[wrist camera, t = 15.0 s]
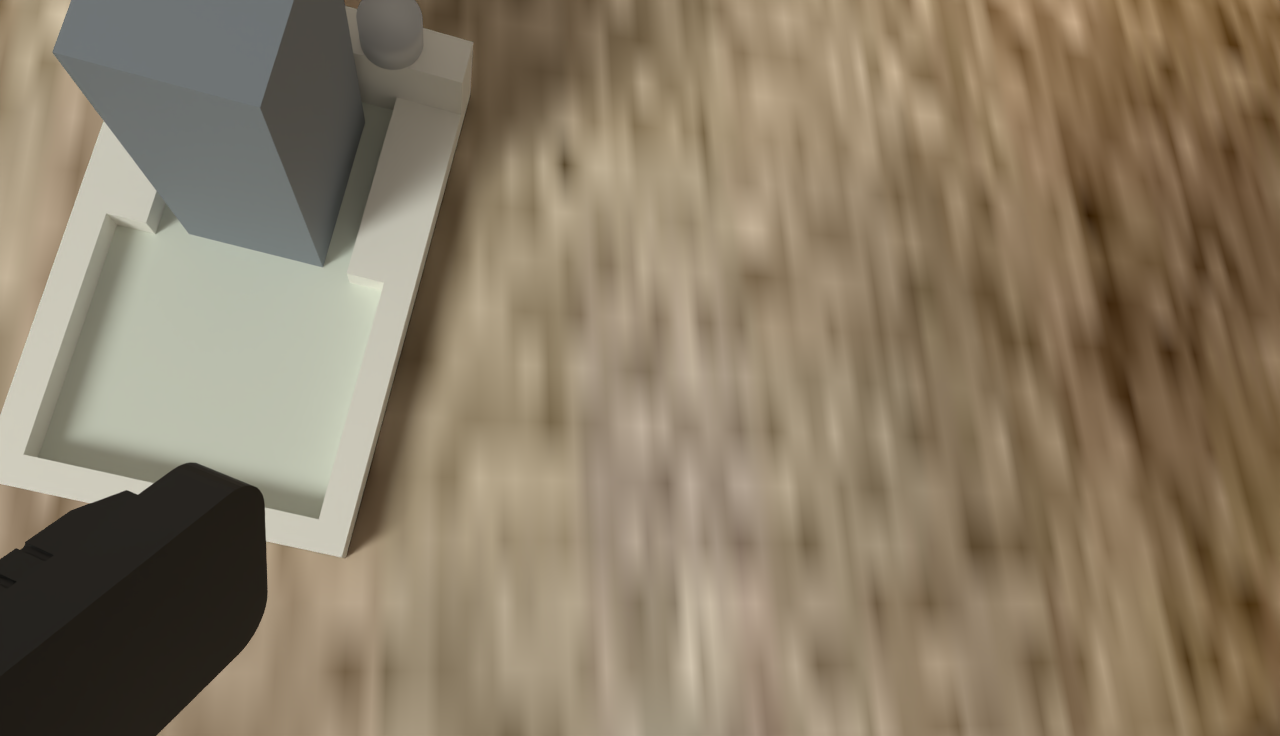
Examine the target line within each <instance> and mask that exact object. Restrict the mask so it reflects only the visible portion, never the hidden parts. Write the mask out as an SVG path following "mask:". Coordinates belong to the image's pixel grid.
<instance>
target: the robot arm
mask: <svg viewBox="0 0 1280 736" xmlns="http://www.w3.org/2000/svg"><path fill="white" fill-rule="evenodd" d="M266 602H267V561H266V529H265V503H264V498H263V494H262V493H261V491H260V490H259V489H258V488H257V487H255V486H252V485H250V484H247V483H245V482H242V481H240V480H238V479H235V478H233V477H230V476H228V475H225V474H223V473H220V472H218V471H215V470H213V469H210V468H208V467H206V466H203V465H201V464H198V463H193V462H190V463H185V464H182V465H180V466H178V467H176V468H175V469H173V470H171V471H170V472H169V473H167V474H166V475H164V476H163V477H162V478H160V479H159V480H158V481H156V482H155V483H153V484H152V485H151V486H149V487H148V488H146V489H145V490H144V491H142V492H141V493H140V494H138V495H137V494H135V493H133V492H130V491H128V490H125V491H123V492H120V493H117V494H115V495H112V496H109V497H106V498H104V499H101V500H98V501H96V502H93V503H90V504H87V505H85V506H82V507H79V508H77V509H74V510H71V511H70V512H68V513H67V514H65V515H64V516H62V517H61V518H59V519H58V520H57V521H55V522H54V523H52V524H51V525H49V526H48V527H46V528H45V529H44V530H42V531H41V532H39V533H38V534H36V535H35V536H33V537H32V538H30V539H29V540H28V541H26V542H25V546H24V547H23V548H22V549H21V550H19V549H17V548H16V549H15V550H13V551H12V552H10V553H9V554H7V555H6V556H4V557H3V558H1V559H0V736H156V735H157V734H158V733H159V732H160V731H161V730H162V729H163V728H164V727H165V726H166V725H167V724H168V723H169V722H170V721H171V720H172V719H173V718H175V717H176V716H177V715H178V714H179V713H180V712H181V711H182V710H183V709H184V708H185V707H186V706H187V705H188V704H189V703H190V702H191V701H192V700H193V699H194V698H195V697H196V696H197V695H198V694H199V693H200V692H201V691H202V690H203V689H204V688H205V687H206V686H207V685H208V684H209V683H210V682H211V681H212V680H213V679H214V678H215V677H216V676H217V675H218V674H219V673H220V672H221V671H222V670H223V669H224V668H225V667H226V666H227V665H228V664H229V663H230V662H231V661H232V660H233V659H234V658H235V657H236V656H237V655H238V654H239V653H240V652H241V651H242V650H243V649H244V648H245V646H246V645H247V644H248V642H249V641H250V639H251V638H252V636H253V635H254V633H255V631H256V629H257V628H258V626H259V623H260V621H261V619H262V616H263V613H264V610H265V607H266Z"/></svg>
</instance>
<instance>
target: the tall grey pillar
mask: <svg viewBox="0 0 1280 736" xmlns="http://www.w3.org/2000/svg"><path fill="white" fill-rule="evenodd" d="M53 54H54V55H55V56H56V58H57V59H58V60H59V62H60V63H61V64H62V66H63V67H64V68H65V70H66V71H67V72H68V74H69V75H70V76H71V78H72V79H73V80H74V82H75V83H76V84H77V86H78V87H79V88H80V90H81V91H82V92H83V94H84V95H85V96H86V98H87V99H88V100H89V102H90V103H91V104H92V106H93V107H94V108H95V110H96V111H97V112H98V114H99V115H100V116H101V118H102V119H103V120H104V122H105V123H106V124H107V126H108V127H109V128H110V130H111V131H112V132H113V134H114V135H115V136H116V138H117V139H118V140H119V142H120V143H121V144H122V146H123V147H124V148H125V150H126V151H127V152H128V154H129V155H130V156H131V158H132V159H133V160H134V162H135V163H136V164H137V166H138V167H139V168H140V170H141V171H142V172H143V174H144V175H145V176H146V178H147V179H148V180H149V182H150V183H151V184H152V186H153V187H154V188H155V190H156V191H157V192H158V194H159V195H160V196H161V198H162V199H163V200H164V201H165V203H166V204H167V205H168V207H169V208H170V209H171V211H172V212H173V213H174V215H175V216H176V217H177V219H178V220H179V221H180V223H181V224H182V225H183V227H184V228H185V229H186V231H187V232H188V233H189V234H191V235H195V236H199V237H203V238H207V239H211V240H215V241H219V242H223V243H227V244H231V245H235V246H239V247H243V248H247V249H251V250H255V251H259V252H263V253H267V254H271V255H275V256H279V257H283V258H287V259H291V260H295V261H299V262H303V263H307V264H311V265H315V266H319V267H323V266H324V262H325V259H326V255H327V252H328V249H329V245H330V242H331V238H332V235H333V231H334V228H335V224H336V221H337V218H338V214H339V211H340V207H341V204H342V200H343V197H344V193H345V190H346V187H347V183H348V180H349V176H350V173H351V169H352V166H353V162H354V159H355V155H356V152H357V149H358V145H359V142H360V138H361V135H362V131H363V128H364V124H365V118H364V112H363V107H362V101H361V95H360V89H359V83H358V78H357V72H356V66H355V60H354V55H353V49H352V43H351V37H350V32H349V26H348V20H347V14H346V9H345V3H344V0H71V3H70V6H69V8H68V11H67V14H66V17H65V19H64V22H63V25H62V27H61V30H60V33H59V36H58V38H57V41H56V44H55V46H54V49H53Z"/></svg>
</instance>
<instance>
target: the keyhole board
mask: <svg viewBox="0 0 1280 736" xmlns="http://www.w3.org/2000/svg"><path fill="white" fill-rule="evenodd" d="M345 9H346V14H347V20H348V26H349V32H350V37H351V43H352V49H353V55H354V60H355V66H356V72H357V78H358V83H359V89H360V95H361V101H362V107H363V112H364V118H365V124H364V128H363V131H362V135H361V138H360V142H359V145H358V149H357V152H356V155H355V159H354V162H353V166H352V169H351V173H350V176H349V180H348V183H347V187H346V190H345V193H344V197H343V200H342V204H341V207H340V211H339V214H338V218H337V221H336V224H335V228H334V231H333V235H332V238H331V242H330V245H329V249H328V252H327V255H326V259H325V262H324V266H323V267H319V266H315V265H311V264H307V263H303V262H299V261H295V260H291V259H287V258H283V257H279V256H275V255H271V254H267V253H263V252H259V251H255V250H251V249H247V248H243V247H239V246H235V245H231V244H227V243H223V242H219V241H215V240H211V239H207V238H203V237H199V236H195V235H191V234H189V233H188V232H187V231H186V229H185V228H184V227H183V225H182V224H181V223H180V221H179V220H178V219H177V217H176V216H175V215H174V213H173V212H172V211H171V209H170V208H169V207H168V205H167V204H166V203H165V201H164V200H163V199H162V198H161V196H160V195H159V194H158V192H157V191H156V190H155V188H154V187H153V186H152V184H151V183H150V182H149V180H148V179H147V178H146V176H145V175H144V174H143V172H142V171H141V170H140V168H139V167H138V166H137V164H136V163H135V162H134V160H133V159H132V158H131V156H130V155H129V154H128V152H127V151H126V150H125V148H124V147H123V146H122V144H121V143H120V142H119V140H118V139H117V138H116V136H115V135H114V134H113V132H112V131H111V130H110V128H109V127H108V126H107V124H106V123H105V122H104V121H103V124H102V127H101V130H100V133H99V136H98V138H97V141H96V144H95V147H94V150H93V153H92V156H91V158H90V161H89V164H88V167H87V170H86V173H85V176H84V178H83V181H82V184H81V187H80V190H79V193H78V195H77V198H76V201H75V204H74V207H73V210H72V213H71V215H70V218H69V221H68V224H67V227H66V230H65V233H64V235H63V238H62V241H61V244H60V247H59V250H58V252H57V255H56V258H55V261H54V264H53V267H52V270H51V272H50V275H49V278H48V281H47V284H46V287H45V290H44V292H43V295H42V298H41V301H40V304H39V307H38V310H37V312H36V315H35V318H34V321H33V324H32V327H31V329H30V332H29V335H28V338H27V341H26V344H25V347H24V349H23V352H22V355H21V358H20V361H19V364H18V367H17V369H16V372H15V375H14V378H13V381H12V384H11V386H10V389H9V392H8V395H7V398H6V401H5V404H4V406H3V409H2V412H1V415H0V484H3V485H8V486H13V487H17V488H22V489H27V490H31V491H36V492H40V493H45V494H50V495H54V496H59V497H64V498H68V499H73V500H78V501H82V502H87V503H93V502H96V501H98V500H101V499H104V498H106V497H109V496H112V495H115V494H117V493H120V492H123V491H125V490H128V491H130V492H133V493H135V494H137V495H138V494H140V493H141V492H142V491H144V490H145V489H146V488H148V487H149V486H151V485H152V484H153V483H155V482H156V481H158V480H159V479H160V478H162V477H163V476H164V475H166V474H167V473H169V472H170V471H171V470H173V469H175V468H176V467H178V466H180V465H182V464H185V463H190V462H193V463H198V464H201V465H203V466H206V467H208V468H210V469H213V470H215V471H218V472H220V473H223V474H225V475H228V476H230V477H233V478H235V479H238V480H240V481H242V482H245V483H247V484H250V485H252V486H255V487H257V488H258V489H259V490H260V491H261V493H262V494H263V498H264V503H265V529H266V541H268V542H272V543H277V544H282V545H286V546H291V547H296V548H300V549H305V550H309V551H314V552H319V553H323V554H328V555H333V556H337V557H342V558H346V556H347V552H348V548H349V545H350V541H351V537H352V533H353V530H354V526H355V522H356V519H357V515H358V511H359V507H360V504H361V500H362V496H363V493H364V489H365V485H366V481H367V478H368V474H369V470H370V466H371V463H372V459H373V455H374V452H375V448H376V444H377V440H378V437H379V433H380V429H381V426H382V422H383V418H384V414H385V411H386V407H387V403H388V400H389V396H390V392H391V388H392V385H393V381H394V377H395V373H396V370H397V366H398V362H399V359H400V355H401V351H402V347H403V344H404V340H405V336H406V333H407V329H408V325H409V321H410V318H411V314H412V310H413V307H414V303H415V299H416V295H417V292H418V288H419V284H420V280H421V277H422V273H423V269H424V266H425V262H426V258H427V254H428V251H429V247H430V243H431V240H432V236H433V232H434V228H435V225H436V221H437V217H438V214H439V210H440V206H441V202H442V199H443V195H444V191H445V187H446V184H447V180H448V176H449V173H450V169H451V165H452V161H453V158H454V154H455V150H456V147H457V143H458V139H459V135H460V132H461V128H462V124H463V121H464V117H465V113H466V109H467V106H468V102H469V98H470V94H471V76H472V59H473V42H472V41H468V40H465V39H461V38H457V37H454V36H450V35H447V34H443V33H440V32H436V31H433V30H429V29H426V28H423V18H422V12H421V9H420V7H419V5H418V4H417V2H416V1H415V0H362V1H361V2H360V4H359V6H358V9H355V8H352V7H348V6H345Z"/></svg>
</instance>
